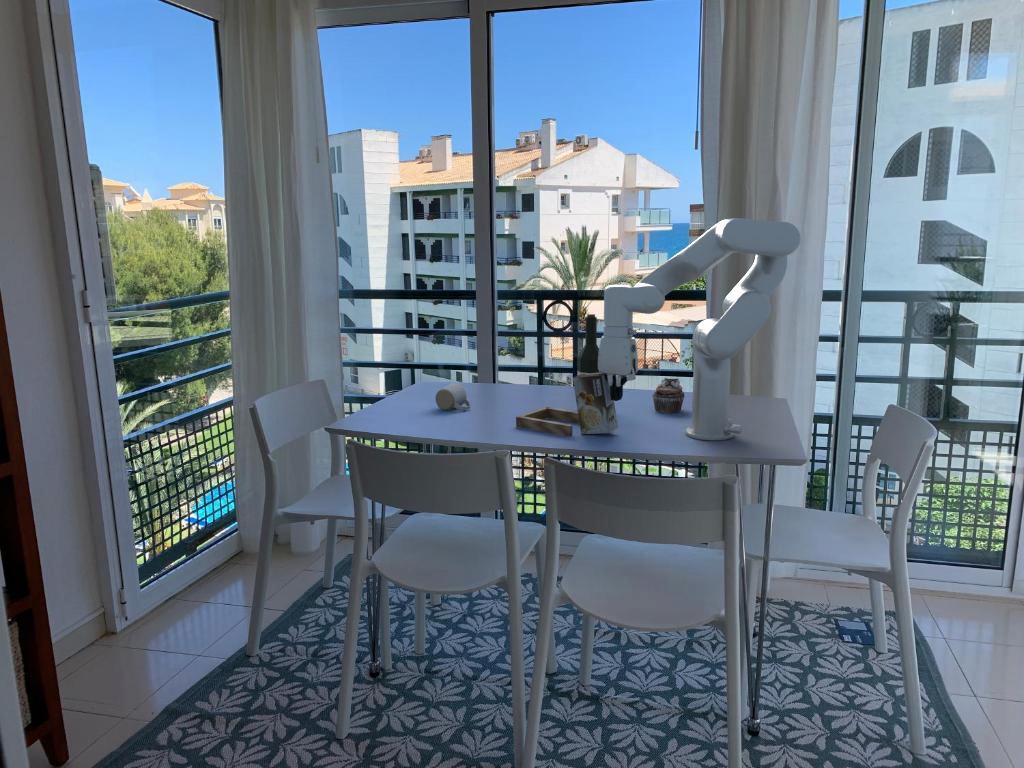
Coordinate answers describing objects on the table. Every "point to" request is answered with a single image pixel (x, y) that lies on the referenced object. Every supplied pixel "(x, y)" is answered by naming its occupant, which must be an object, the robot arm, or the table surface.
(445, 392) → the ceramic mug
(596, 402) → the coffee box
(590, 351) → the wine bottle
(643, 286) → the robot arm
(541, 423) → the u rest
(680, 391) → the cupcake
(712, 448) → the table surface
